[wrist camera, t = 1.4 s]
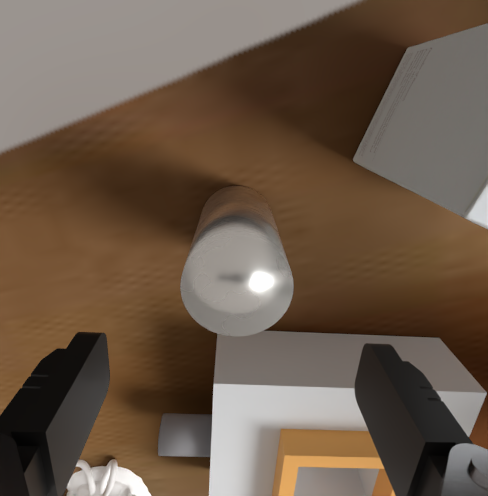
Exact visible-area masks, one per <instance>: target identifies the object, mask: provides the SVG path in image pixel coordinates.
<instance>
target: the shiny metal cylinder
mask: <svg viewBox="0 0 488 496" xmlns="http://www.w3.org/2000/svg"><path fill="white" fill-rule="evenodd" d="M180 288H181V296H182V300H183V303H184V305H185V307H186V309H187V311H188V312H189V314H190V315H191V316H192V317H193V319H194V320H195V321H196V322H198V323H199V324H200V325H201V326H203V327H205V328H206V329H208V330H210V331H212V332H214V333H218V334H221V335H225V336H234V337H238V336H249V335H253V334H256V333H259V332H262V331H264V330H266V329H268V328H269V327H271V326H272V325H274V324H275V323H276V322H277V321H278V320H279V319H280V318H281V317H282V316H283V315H284V313H285V312H286V311H287V309H288V307H289V305H290V302H291V300H292V296H293V288H294V284H293V277H292V273H291V270H290V266H289V263H288V260H287V257H286V254H285V251H284V248H283V245H282V242H281V239H280V236H279V233H278V230H277V227H276V224H275V221H274V218H273V215H272V212H271V209H270V206H269V204H268V203H267V201H266V200H265V198H264V197H263V196H262V195H261V194H260V193H258V192H257V191H255V190H253V189H251V188H249V187H245V186H228V187H225V188H222V189H220V190H218V191H217V192H215V193H214V194H213V195H212V196H211V197H210V198H209V199H208V200H207V201H206V203H205V205H204V207H203V210H202V213H201V216H200V219H199V222H198V226H197V229H196V232H195V235H194V238H193V241H192V245H191V248H190V251H189V254H188V257H187V260H186V264H185V267H184V270H183V273H182V277H181V286H180Z"/></svg>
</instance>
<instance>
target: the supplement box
mask: <svg viewBox="0 0 488 496" xmlns="http://www.w3.org/2000/svg"><path fill="white" fill-rule="evenodd" d="M353 161H354V162H355V163H356V164H358V165H360V166H362V167H364V168H366V169H368V170H370V171H372V172H374V173H376V174H378V175H380V176H382V177H384V178H386V179H388V180H390V181H392V182H394V183H396V184H398V185H400V186H402V187H404V188H406V189H408V190H410V191H412V192H414V193H416V194H418V195H420V196H422V197H424V198H426V199H428V200H430V201H432V202H434V203H436V204H438V205H440V206H442V207H444V208H446V209H448V210H450V211H452V212H454V213H456V214H458V215H460V216H461V217H463V218H465V219H467V220H469V221H471V222H473V223H475V224H477V225H480V226H482V227H484V228H486V229H488V23H487V24H484V25H481V26H477V27H474V28H471V29H467V30H464V31H461V32H458V33H455V34H451V35H448V36H445V37H442V38H438V39H435V40H432V41H428V42H425V43H422V44H419V45H415V46H412V47H408V48H407V50H406V52H405V54H404V56H403V58H402V60H401V62H400V64H399V66H398V68H397V70H396V72H395V74H394V76H393V78H392V80H391V82H390V84H389V86H388V88H387V90H386V92H385V94H384V96H383V98H382V100H381V102H380V104H379V106H378V108H377V110H376V112H375V114H374V116H373V119H372V121H371V123H370V125H369V127H368V129H367V131H366V133H365V135H364V137H363V139H362V141H361V143H360V145H359V147H358V149H357V152H356V154H355V156H354V158H353Z"/></svg>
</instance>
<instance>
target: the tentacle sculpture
mask: <svg viewBox="0 0 488 496" xmlns="http://www.w3.org/2000/svg"><path fill="white" fill-rule="evenodd" d="M76 466H79V467H80V468H82V470H81V471H79V472H76V473H74V474H73V475H72V476H71V478H70V481H69V483H68V485H67V489H68V493H67V495H66V496H151V494H150V493H149V492H148V489H147V487H146V486H145V485H144V483H143V482H142V479H141V478H140V477H138V476H137V475H135V474H134V473H133V472H131V471H130V470H128V469H125V468H122V467H117V461H116V460H115V459H112V460H110V461H109V463H108V464H107V466H98V467H92V468H90V466H89V464H88V463H87V462H86V461H84V460H78V462H77V464H76Z"/></svg>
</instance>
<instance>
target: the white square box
mask: <svg viewBox="0 0 488 496" xmlns="http://www.w3.org/2000/svg"><path fill="white" fill-rule="evenodd" d="M366 343H373V344H390V345H392V346H393V347H394V349H395V350H396V352H397V353H398V355H399V356H400V358H401V359H402V361H409V362H410V363H411V364H412V365H414V366H415V367H416V368H417V369H419V370H420V371H421V372H422V373H423V374H424V375H425V376H426V378H427V379H428V381H429V382H430V383H431V385H432V386H433V390H435V391H436V392H437V393H438V395H439V396H440V398H441V401H443V402H444V403H445V405H446V406H447V407H448V409H449V410H450V412H451V413H452V415H453V416H454V417H455V419H456V420H457V422H458V423H459V424H460V426H461V427H462V429H463V430H464V431H465V433H466V434H467V436H468V437H469V436H470V434H471V431H472V429H473V426H474V424H475V421H476V419H477V416H478V414H479V411H480V409H481V407H482V404H483V402H484V399H485V397H486V394H487V392H486V391H485V390H484V389H483V388H482V387H481V385H480V384H479V383H478V382H477V381H476V380H475V378H474V377H473V376H472V375H471V374H470V373H469V372H468V370H467V369H466V368H465V367H464V366H463V365H462V363H461V362H460V361H459V360H458V359H457V358H456V357H455V355H454V354H453V353H452V352H451V351H450V350H449V349H448V347H447V346H446V345H445V344H444V343H443V342H442V340H441V339H440V338H432V337H407V336H383V335H358V334H333V333H309V332H284V331H262V332H259V333H256V334H253V335H249V336H238V337H234V336H225V335H221V334H218V333H217V346H216V359H215V371H214V385H213V409H212V415H210V414H177V413H164V414H163V416H162V420H161V424H160V431H159V440H158V455H159V456H187V457H211V459H210V483H209V496H396V495H395V493H394V490H393V488H392V486H391V483H390V481H389V478H388V476H387V474H386V471H385V469H384V466H383V464H382V462H381V459H380V457H379V455H378V452H377V450H376V447H375V445H374V443H373V440H372V438H371V435H370V433H369V431H368V428H367V426H366V423H365V421H364V419H363V416H362V414H361V411H360V409H359V407H358V404H357V401H356V398H355V389H354V387H355V379H356V375H357V370H358V366H359V362H360V357H361V353H362V349H363V346H364V345H365V344H366Z"/></svg>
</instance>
